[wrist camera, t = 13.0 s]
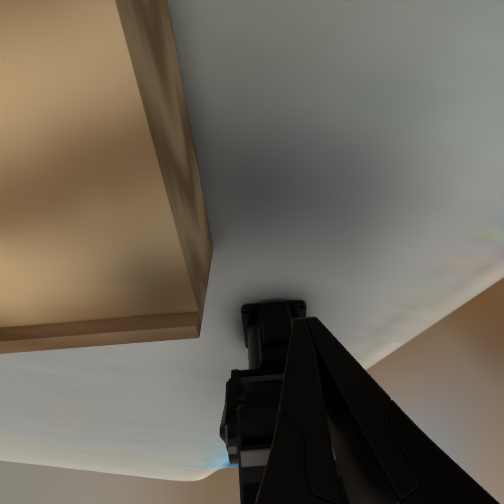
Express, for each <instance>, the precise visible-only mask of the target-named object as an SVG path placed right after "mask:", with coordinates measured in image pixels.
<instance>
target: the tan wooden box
mask: <svg viewBox="0 0 504 504" xmlns="http://www.w3.org/2000/svg"><path fill="white" fill-rule="evenodd" d="M212 253H213V247H212V241H211V236H210V231H209V225H208V220H207V214H206V209H205V204H204V198H203V193H202V187H201V182H200V176H199V171H198V166H197V160H196V155H195V149H194V144H193V139H192V133H191V128H190V122H189V117H188V112H187V106H186V101H185V95H184V90H183V84H182V79H181V74H180V68H179V63H178V57H177V52H176V47H175V41H174V36H173V30H172V25H171V20H170V14H169V9H168V3H167V0H0V354H4V353H17V352H29V351H41V350H54V349H66V348H78V347H91V346H103V345H115V344H128V343H140V342H153V341H165V340H177V339H190V338H199V336H200V330H201V323H202V317H203V310H204V304H205V298H206V291H207V285H208V278H209V272H210V266H211V259H212Z"/></svg>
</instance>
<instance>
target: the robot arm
mask: <svg viewBox="0 0 504 504" xmlns="http://www.w3.org/2000/svg"><path fill="white" fill-rule="evenodd" d="M301 305H302V306H301ZM245 310H247V311H245ZM241 314H242V322H243V329H244V337H245V344H246V348H248V360H249V370H238V369H235V370H231V379H229V381H228V382H226V397H225V406H224V410H223V415H222V420H221V425H220V437H221V439H222V440H223V441H224V442H225V443H226V448H227V451H228V455H229V461H230V464H239V482H240V501H241V504H499V502H497V501H496V500H495V499H494V498H493V497H492V496H491V495H490V494H489V493H488V492H487V491H485V490H484V489H483V488H482V487H481V486H480V485H479V484H478V483H477V482H476V481H475V480H473V478H472V477H470V476H469V475H468V474H467V473H466V472H465V471H464V470H463V469H462V468H461V467H460V466H459V465H458V464H456V463H455V462H454V461H453V460H452V459H451V458H450V457H449V456H448V455H447V454H446V453H445V452H444V451H442V450H441V449H440V448H439V447H438V446H437V445H436V444H435V443H434V442H433V441H432V440H431V439H430V438H429V437H428V436H427V435H426V434H425V433H424V432H423V431H422V430H421V429H420V428H419V427H418V426H417V425H416V424H415V423H414V422H413V421H412V420H411V419H410V418H409V417H408V416H407V415H406V414H405V413H404V412H403V411H402V410H401V408H400V407H398V405H397V404H396V403H395V402H394V401H393V400H391V398H390V397H389V395H388V394H387V393H386V392H385V391H384V390H383V389H382V388H381V387H380V386H379V385H378V383H377V382H376V381H375V380H374V379H373V378H372V377H371V376H370V375H369V374H368V373H367V372H366V370H365V369H364V368H363V367H362V366H361V365H360V364H359V363H358V362H357V361H356V359H355V358H354V357H353V356H352V355H351V354H350V353H349V352H348V351H347V350H346V349H345V348H344V346H343V345H342V344H341V343H340V342H339V341H338V340H337V339H336V338H335V337H334V336H333V334H332V333H331V332H330V331H329V330H328V329H327V328H326V327H325V326H324V325H323V324H322V322H321V321H320V320H319V319H318V318H317V317H306V304H305V302H304V301H293V302H280V303H268V304H256V305H245V306H243V307H242V308H241Z"/></svg>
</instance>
